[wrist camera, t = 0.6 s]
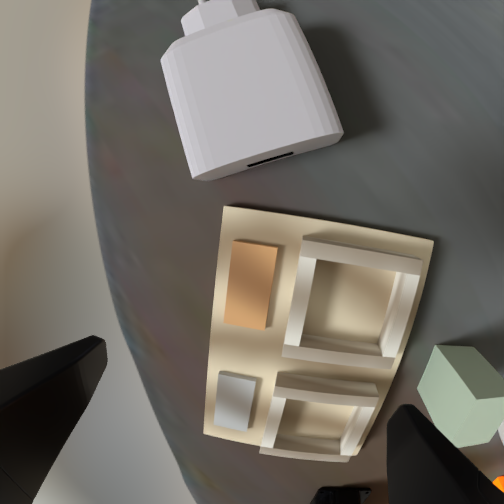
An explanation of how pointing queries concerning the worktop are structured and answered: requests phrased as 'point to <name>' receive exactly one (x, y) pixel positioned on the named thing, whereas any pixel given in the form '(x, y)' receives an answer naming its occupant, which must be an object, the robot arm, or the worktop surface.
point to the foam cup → (501, 431)
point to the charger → (245, 88)
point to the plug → (463, 394)
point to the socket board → (307, 330)
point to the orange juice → (499, 483)
